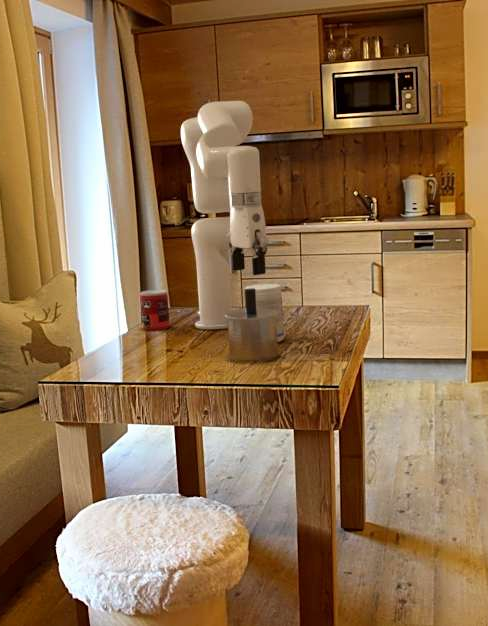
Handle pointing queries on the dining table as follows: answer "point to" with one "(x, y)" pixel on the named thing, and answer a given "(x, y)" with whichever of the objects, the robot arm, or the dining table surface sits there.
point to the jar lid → (251, 309)
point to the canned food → (155, 309)
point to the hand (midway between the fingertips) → (248, 272)
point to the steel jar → (252, 339)
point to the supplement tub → (271, 303)
